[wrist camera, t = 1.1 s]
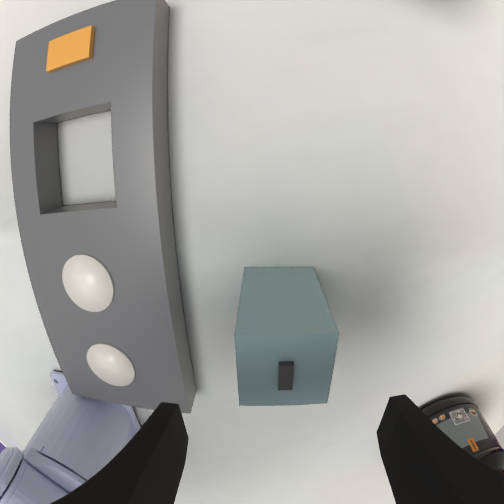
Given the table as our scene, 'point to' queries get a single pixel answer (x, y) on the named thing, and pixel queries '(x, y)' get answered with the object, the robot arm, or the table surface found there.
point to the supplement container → (467, 429)
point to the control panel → (103, 205)
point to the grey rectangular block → (284, 338)
